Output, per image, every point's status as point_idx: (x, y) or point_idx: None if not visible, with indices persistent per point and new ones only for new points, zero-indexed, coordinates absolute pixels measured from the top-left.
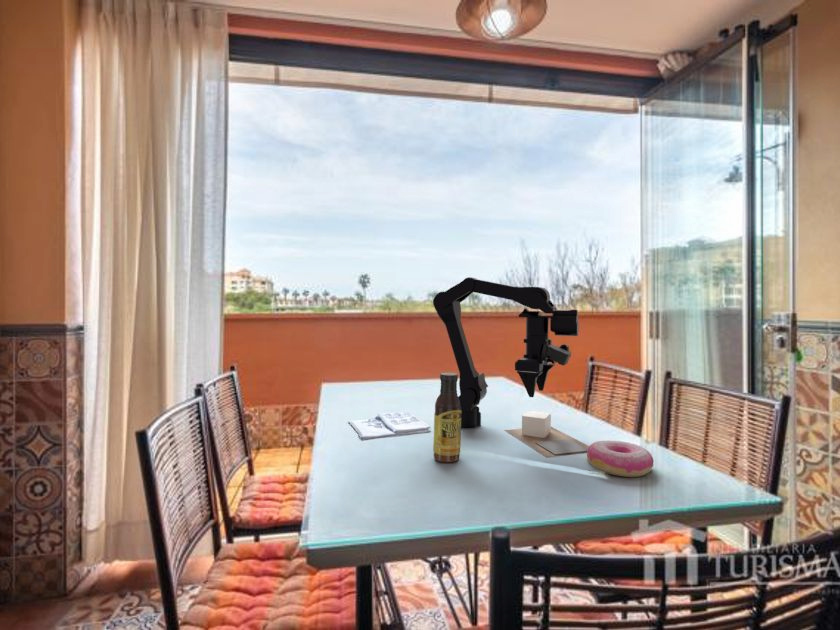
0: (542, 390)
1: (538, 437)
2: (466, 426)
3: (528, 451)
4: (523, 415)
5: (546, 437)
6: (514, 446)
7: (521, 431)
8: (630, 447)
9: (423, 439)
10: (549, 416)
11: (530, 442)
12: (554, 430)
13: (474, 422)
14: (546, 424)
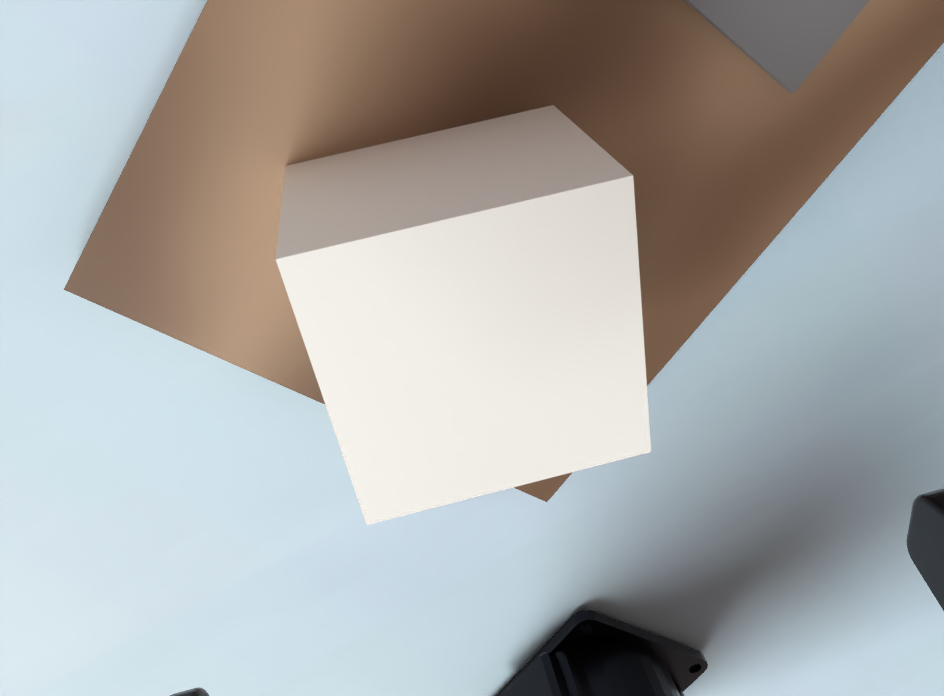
0: (202, 690)
1: None
2: (672, 682)
3: None
4: (629, 448)
5: (526, 97)
6: (815, 245)
7: None
8: None
9: (910, 683)
10: (355, 229)
11: (777, 146)
12: (195, 157)
13: (633, 689)
14: (513, 163)
